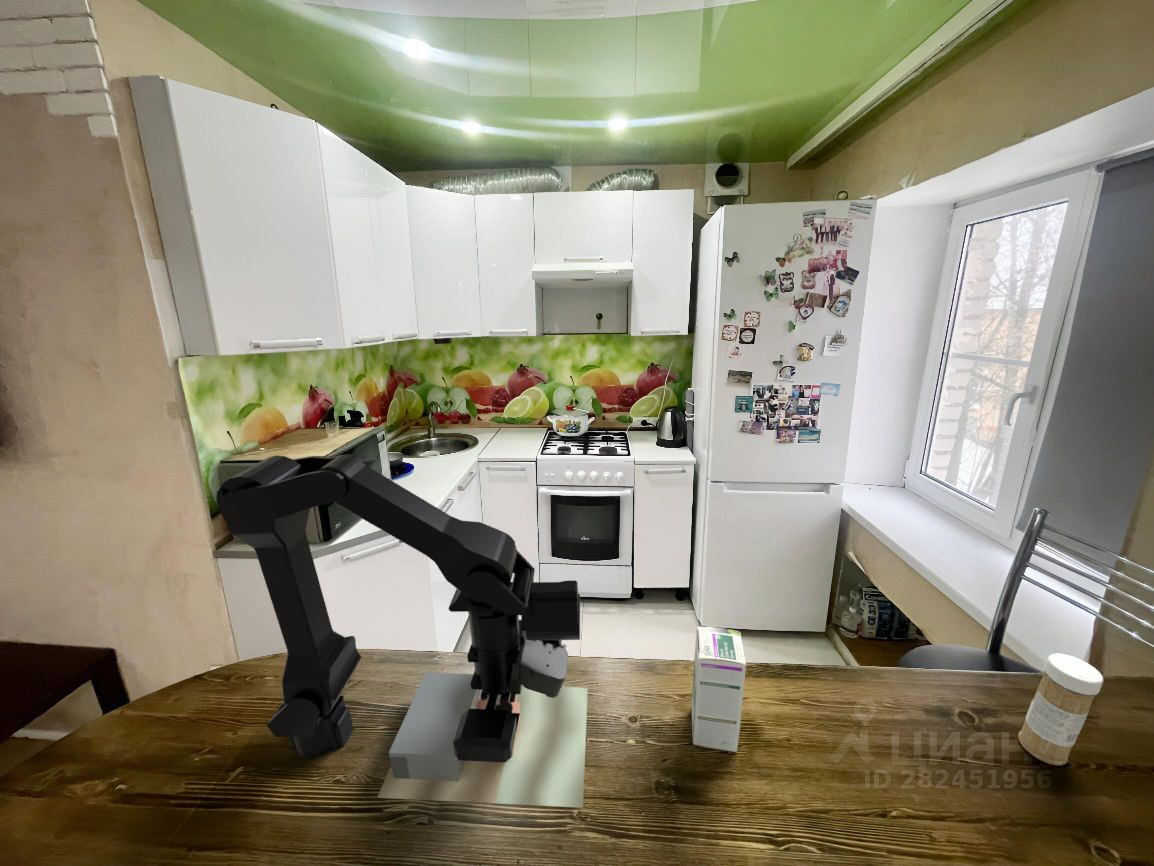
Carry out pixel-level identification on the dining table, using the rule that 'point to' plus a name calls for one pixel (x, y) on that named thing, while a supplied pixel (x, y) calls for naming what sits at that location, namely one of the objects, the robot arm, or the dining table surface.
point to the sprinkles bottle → (1059, 708)
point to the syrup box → (717, 688)
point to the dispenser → (433, 728)
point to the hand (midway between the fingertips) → (504, 730)
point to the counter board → (520, 760)
